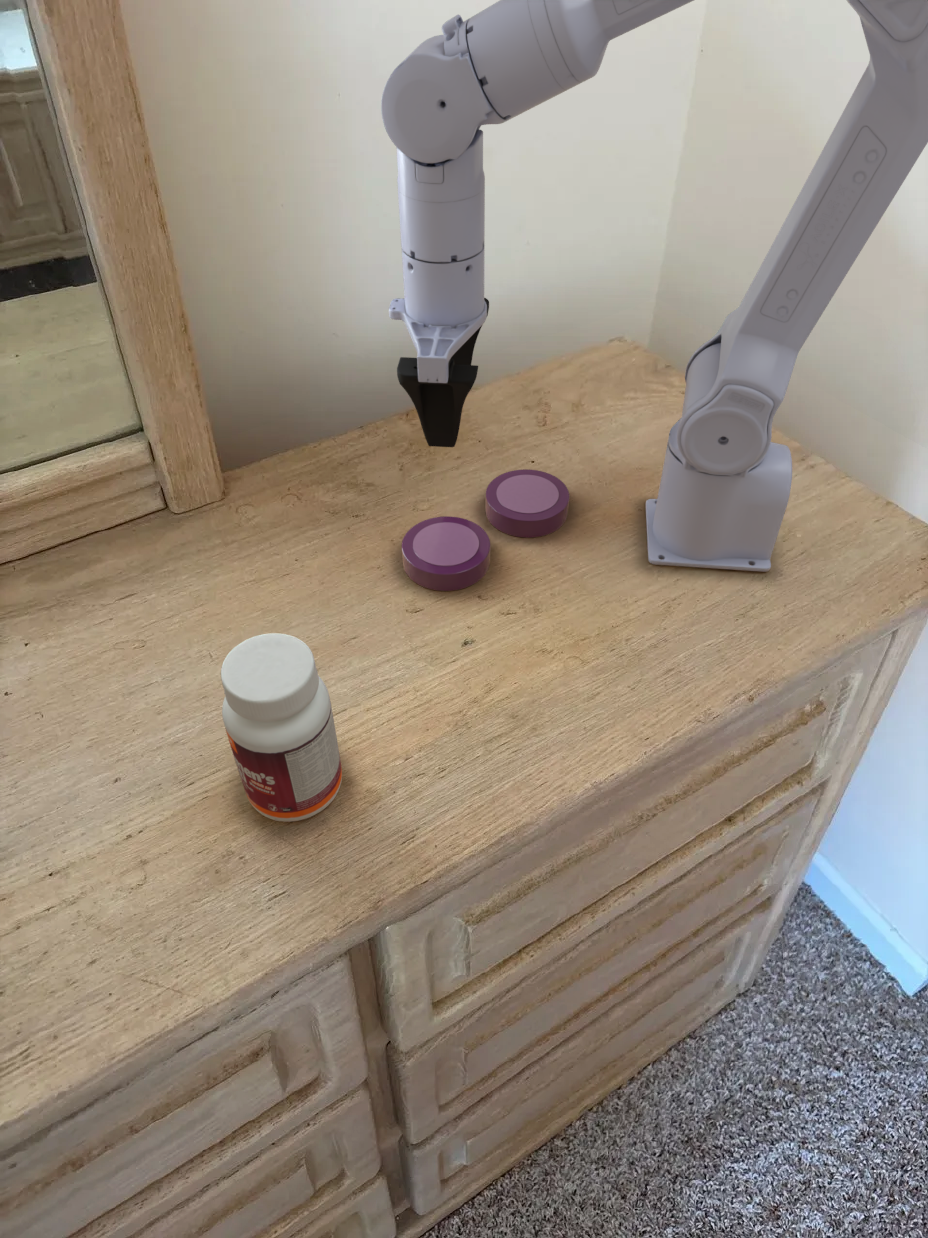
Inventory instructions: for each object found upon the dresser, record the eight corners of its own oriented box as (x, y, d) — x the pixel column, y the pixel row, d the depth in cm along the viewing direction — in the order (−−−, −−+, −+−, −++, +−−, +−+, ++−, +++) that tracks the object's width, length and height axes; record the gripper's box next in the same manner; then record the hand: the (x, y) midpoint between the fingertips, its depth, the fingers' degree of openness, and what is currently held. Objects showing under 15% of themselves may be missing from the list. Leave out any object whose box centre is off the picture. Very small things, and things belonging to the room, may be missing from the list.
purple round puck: (569, 488, 79) (570, 470, 77) (566, 540, 74) (568, 522, 73) (489, 483, 79) (489, 466, 78) (481, 534, 74) (481, 517, 73)
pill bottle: (226, 788, 57) (185, 671, 49) (298, 729, 60) (271, 609, 52) (292, 844, 54) (260, 729, 46) (364, 778, 58) (346, 660, 50)
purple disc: (493, 535, 74) (494, 518, 73) (486, 594, 69) (486, 576, 68) (409, 530, 75) (408, 512, 74) (396, 588, 70) (394, 570, 69)
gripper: (401, 202, 67) (410, 366, 77) (366, 291, 57) (382, 467, 67) (495, 205, 67) (493, 370, 76) (477, 295, 57) (477, 472, 66)
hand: (447, 416), depth 72 cm, fingers open, 7 cm apart
